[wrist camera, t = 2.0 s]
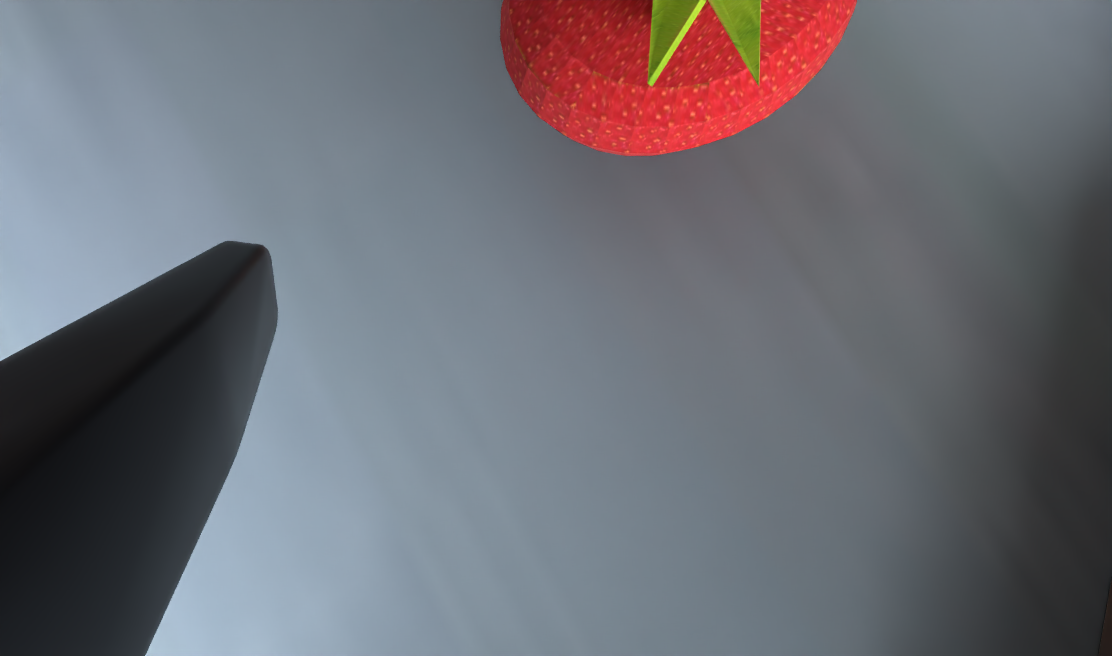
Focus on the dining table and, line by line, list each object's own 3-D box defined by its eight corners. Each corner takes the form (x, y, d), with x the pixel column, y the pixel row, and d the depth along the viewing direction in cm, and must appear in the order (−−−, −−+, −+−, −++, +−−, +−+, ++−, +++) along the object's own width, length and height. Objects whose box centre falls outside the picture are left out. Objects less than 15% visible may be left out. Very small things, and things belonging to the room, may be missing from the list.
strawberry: (840, 107, 23) (1058, -126, 13) (589, 267, 23) (621, 148, 13) (711, -81, 24) (828, -443, 14) (463, 72, 23) (398, -188, 13)
